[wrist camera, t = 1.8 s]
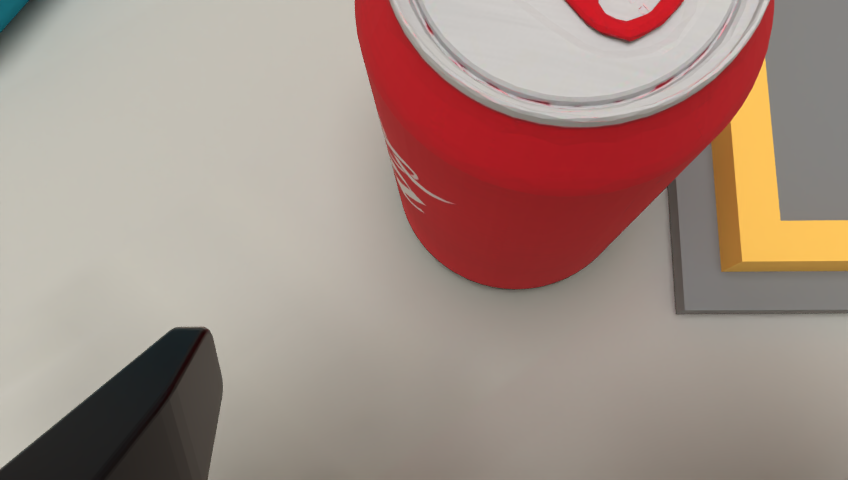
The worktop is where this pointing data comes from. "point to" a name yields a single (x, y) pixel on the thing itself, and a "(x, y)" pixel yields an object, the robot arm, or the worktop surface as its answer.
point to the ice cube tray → (9, 11)
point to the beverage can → (549, 117)
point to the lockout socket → (773, 182)
